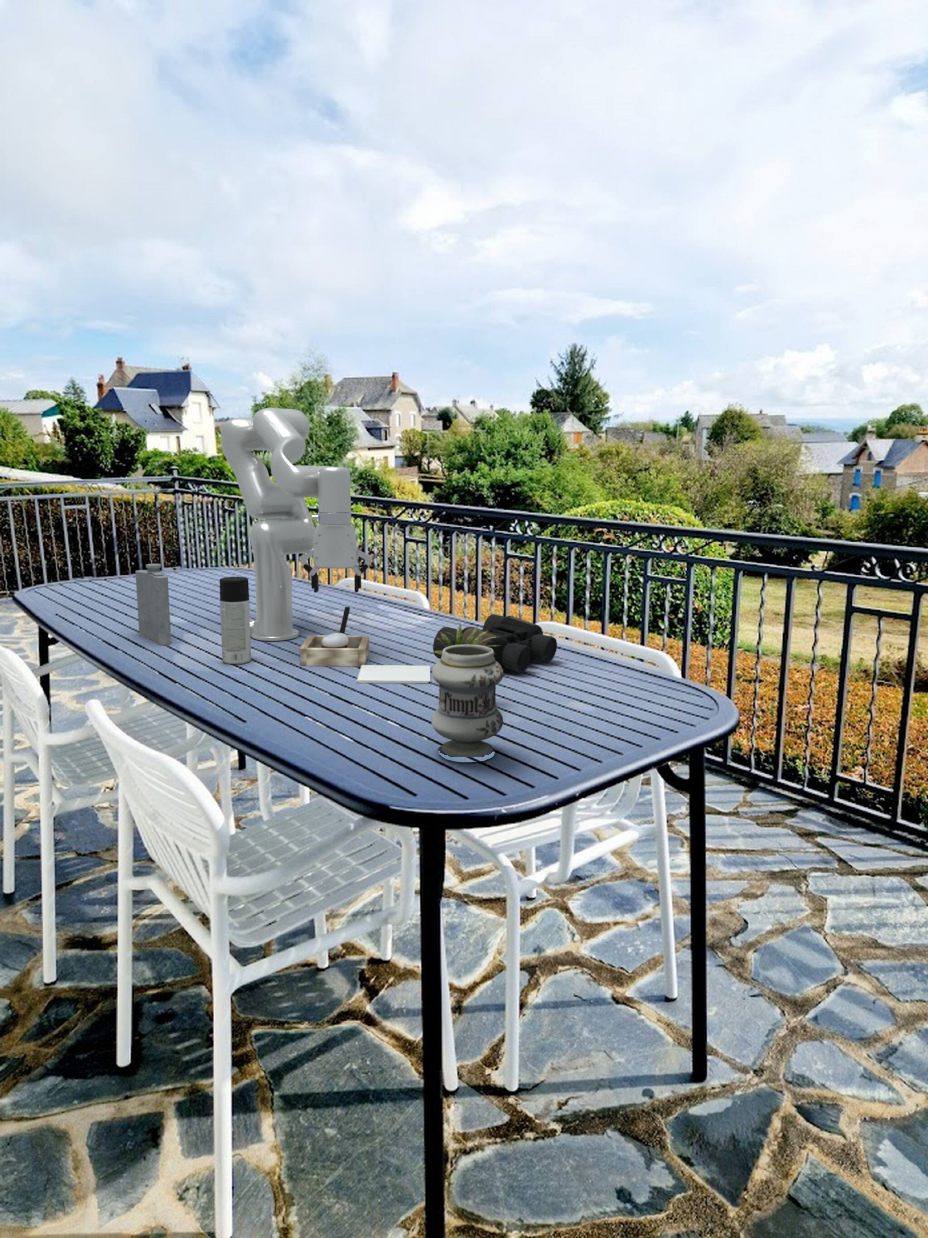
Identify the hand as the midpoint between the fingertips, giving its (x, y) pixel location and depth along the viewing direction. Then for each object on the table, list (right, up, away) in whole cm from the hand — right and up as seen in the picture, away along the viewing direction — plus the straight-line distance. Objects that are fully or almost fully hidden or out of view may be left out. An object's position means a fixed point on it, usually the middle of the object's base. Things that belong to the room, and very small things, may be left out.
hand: (336, 591), depth 191 cm
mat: (+15, -19, -10) cm, 26 cm away
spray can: (-24, -17, -1) cm, 29 cm away
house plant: (+30, -24, -30) cm, 49 cm away
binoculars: (+40, -18, +3) cm, 43 cm away
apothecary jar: (+31, -29, -57) cm, 71 cm away
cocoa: (-1, -16, +4) cm, 17 cm away
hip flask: (-50, -12, +19) cm, 55 cm away
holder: (-1, -16, +4) cm, 17 cm away
